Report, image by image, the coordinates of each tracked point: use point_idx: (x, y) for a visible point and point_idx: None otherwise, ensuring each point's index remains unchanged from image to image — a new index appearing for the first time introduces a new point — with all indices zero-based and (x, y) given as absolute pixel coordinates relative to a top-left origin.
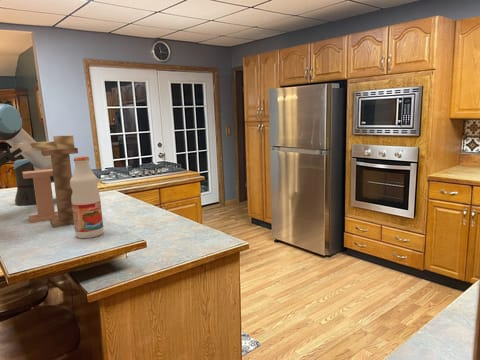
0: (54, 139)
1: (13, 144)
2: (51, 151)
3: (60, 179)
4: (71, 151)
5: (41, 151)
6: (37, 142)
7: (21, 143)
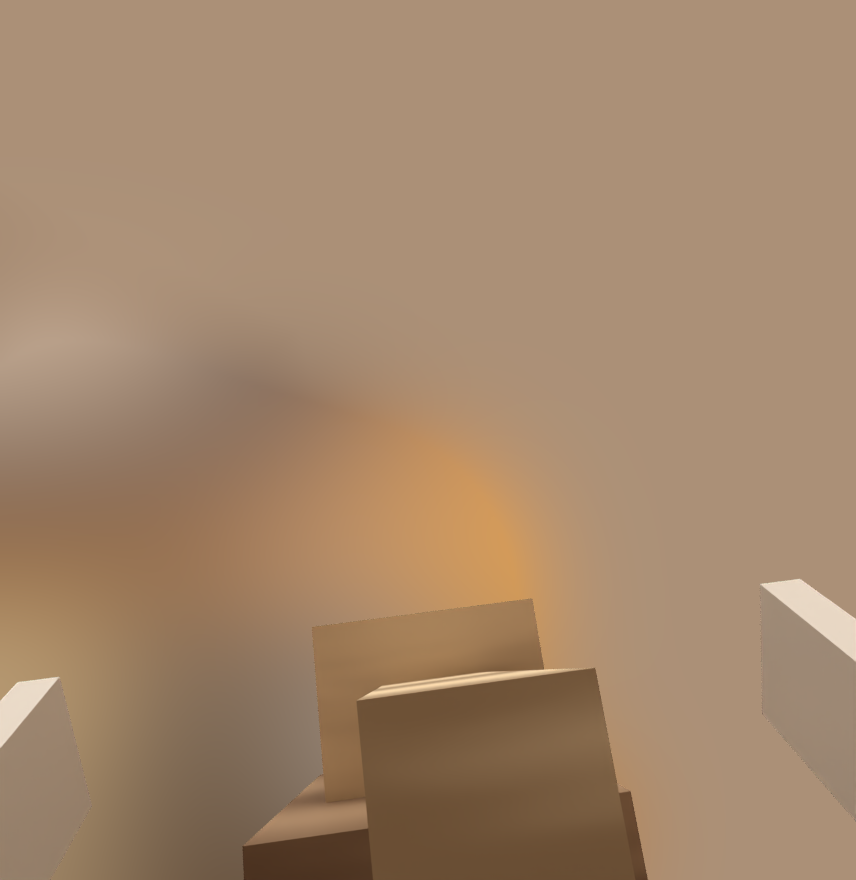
0: (384, 660)
1: (489, 699)
2: None
3: None
4: None
5: (294, 876)
6: (453, 678)
7: (492, 677)
